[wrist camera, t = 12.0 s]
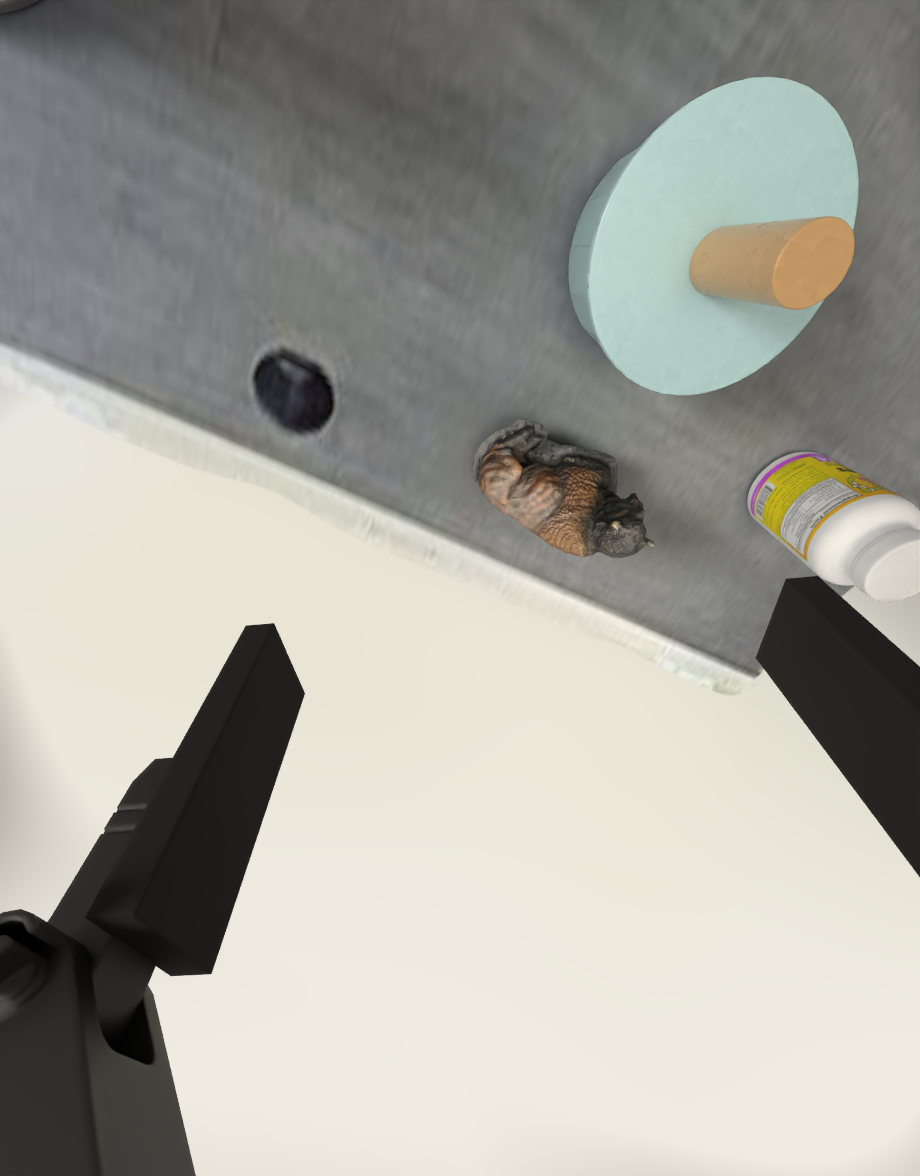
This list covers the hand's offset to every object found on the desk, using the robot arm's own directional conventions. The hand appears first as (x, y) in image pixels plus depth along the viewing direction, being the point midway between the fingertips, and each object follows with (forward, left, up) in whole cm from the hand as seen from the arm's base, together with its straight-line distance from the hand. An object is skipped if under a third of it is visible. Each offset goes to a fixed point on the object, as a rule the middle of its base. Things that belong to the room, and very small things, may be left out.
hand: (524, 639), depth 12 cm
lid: (-7, +12, -19) cm, 24 cm away
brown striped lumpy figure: (+6, +5, -27) cm, 28 cm away
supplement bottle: (+10, +25, -27) cm, 38 cm away
